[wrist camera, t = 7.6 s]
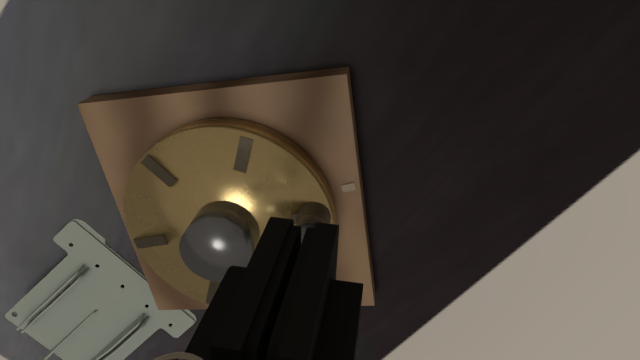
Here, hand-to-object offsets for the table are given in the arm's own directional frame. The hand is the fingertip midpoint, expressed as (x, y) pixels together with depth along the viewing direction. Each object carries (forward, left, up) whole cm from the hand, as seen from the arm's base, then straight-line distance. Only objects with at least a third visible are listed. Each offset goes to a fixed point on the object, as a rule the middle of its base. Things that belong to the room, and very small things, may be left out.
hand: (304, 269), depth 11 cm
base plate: (+11, +11, -23) cm, 28 cm away
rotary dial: (+11, +11, -21) cm, 26 cm away
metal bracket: (+28, +21, -24) cm, 43 cm away
